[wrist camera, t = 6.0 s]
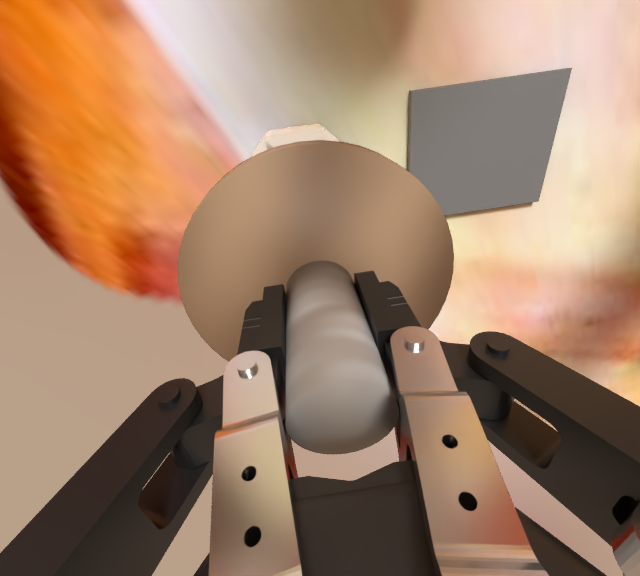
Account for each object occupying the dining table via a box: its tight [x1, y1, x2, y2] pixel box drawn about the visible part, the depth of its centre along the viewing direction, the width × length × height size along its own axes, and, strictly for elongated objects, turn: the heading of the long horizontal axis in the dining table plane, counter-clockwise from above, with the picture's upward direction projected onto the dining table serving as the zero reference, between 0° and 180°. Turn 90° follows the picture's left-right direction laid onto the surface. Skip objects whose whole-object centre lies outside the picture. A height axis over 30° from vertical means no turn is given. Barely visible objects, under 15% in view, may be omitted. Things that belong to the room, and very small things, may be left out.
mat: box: [407, 68, 572, 215], centre depth 26 cm, size 12×10×1 cm
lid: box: [178, 140, 454, 454], centre depth 11 cm, size 11×11×7 cm
